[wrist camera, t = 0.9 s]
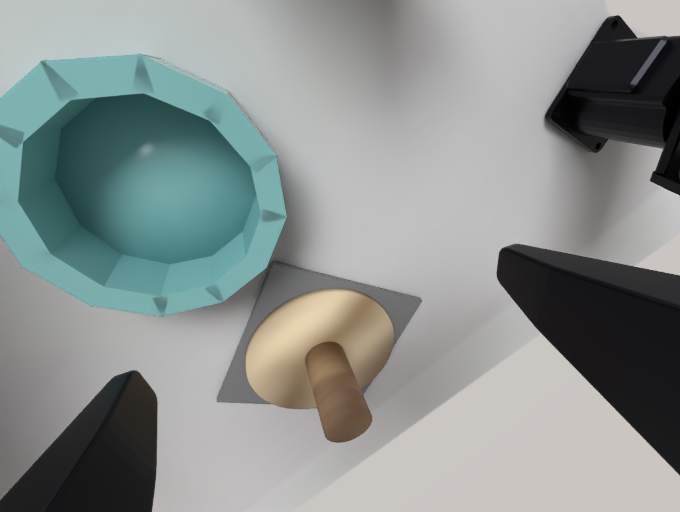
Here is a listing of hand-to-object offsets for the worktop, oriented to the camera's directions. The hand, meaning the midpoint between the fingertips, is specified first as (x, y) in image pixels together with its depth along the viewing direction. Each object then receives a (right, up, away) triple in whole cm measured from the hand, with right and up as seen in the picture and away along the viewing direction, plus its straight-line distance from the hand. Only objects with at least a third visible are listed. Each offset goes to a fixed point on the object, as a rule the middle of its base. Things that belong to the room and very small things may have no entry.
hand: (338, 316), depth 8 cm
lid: (-1, -6, +18) cm, 19 cm away
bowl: (-9, +5, +9) cm, 14 cm away
